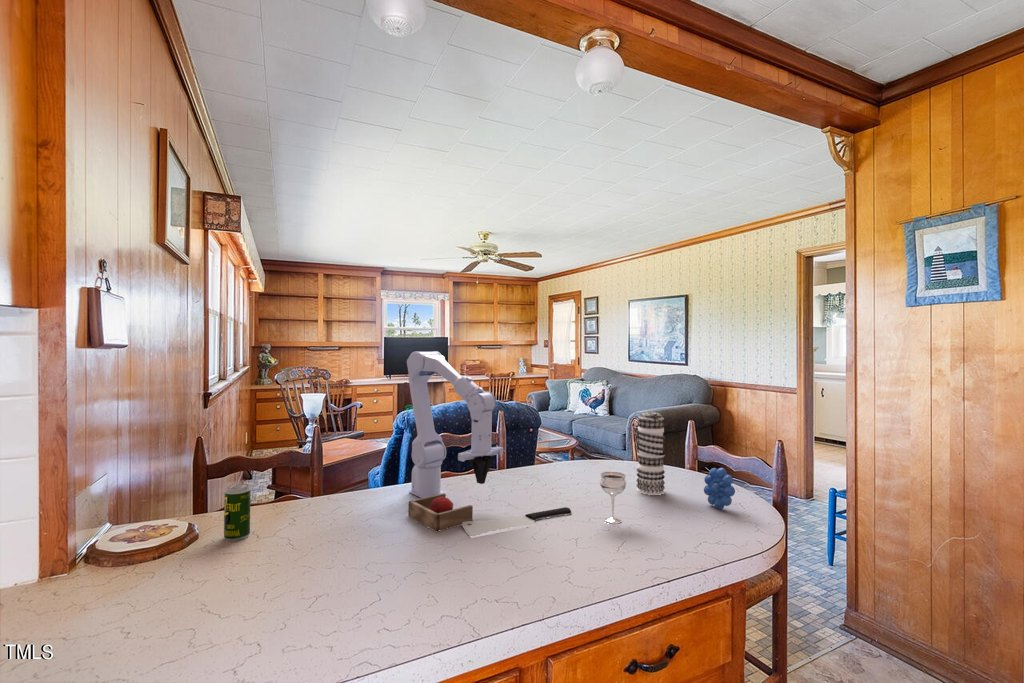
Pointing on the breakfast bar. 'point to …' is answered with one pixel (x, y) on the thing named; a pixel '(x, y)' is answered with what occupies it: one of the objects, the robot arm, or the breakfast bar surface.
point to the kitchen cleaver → (510, 521)
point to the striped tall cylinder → (650, 454)
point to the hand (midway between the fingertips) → (480, 482)
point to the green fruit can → (237, 512)
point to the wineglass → (613, 488)
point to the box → (438, 514)
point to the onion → (441, 505)
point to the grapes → (719, 488)
